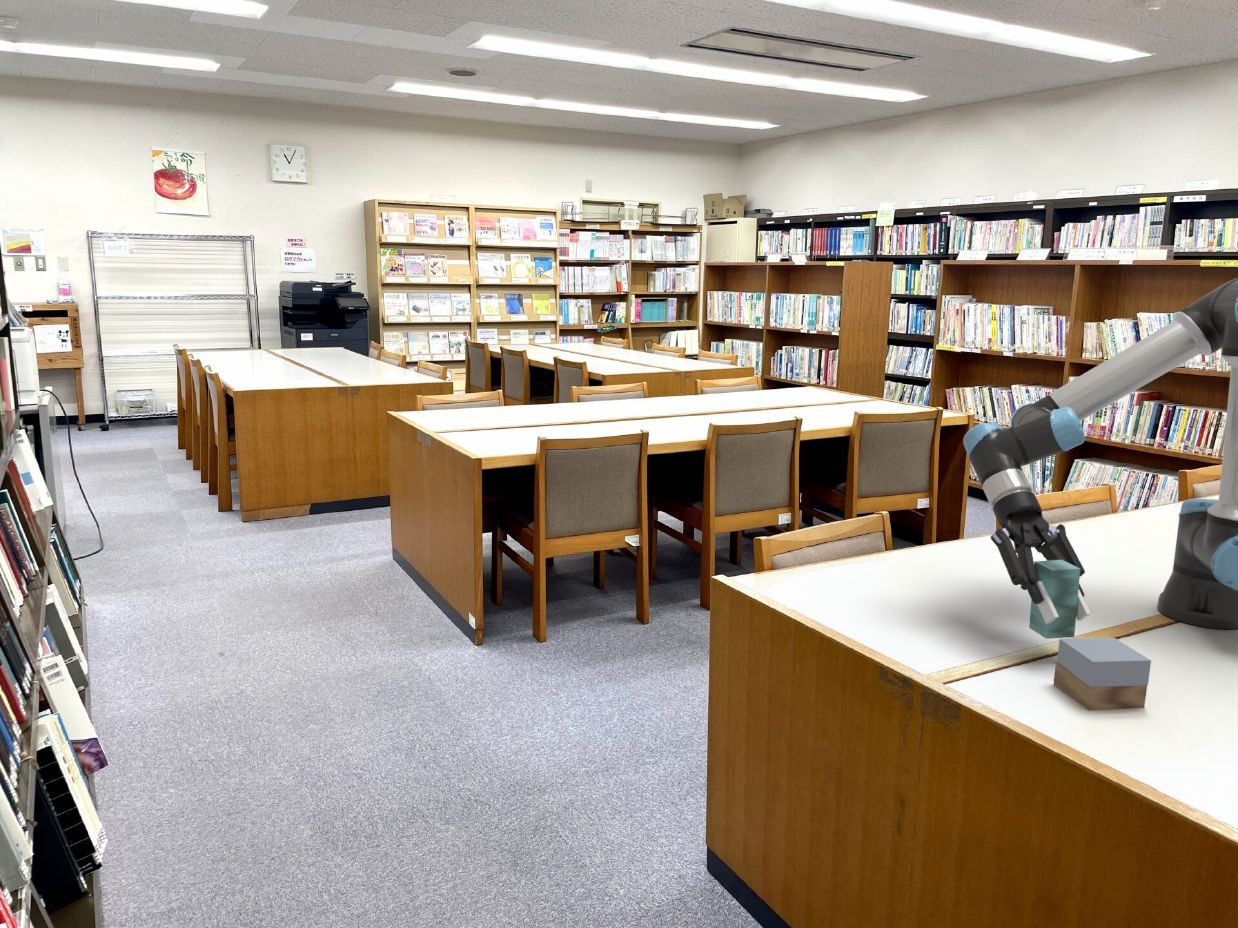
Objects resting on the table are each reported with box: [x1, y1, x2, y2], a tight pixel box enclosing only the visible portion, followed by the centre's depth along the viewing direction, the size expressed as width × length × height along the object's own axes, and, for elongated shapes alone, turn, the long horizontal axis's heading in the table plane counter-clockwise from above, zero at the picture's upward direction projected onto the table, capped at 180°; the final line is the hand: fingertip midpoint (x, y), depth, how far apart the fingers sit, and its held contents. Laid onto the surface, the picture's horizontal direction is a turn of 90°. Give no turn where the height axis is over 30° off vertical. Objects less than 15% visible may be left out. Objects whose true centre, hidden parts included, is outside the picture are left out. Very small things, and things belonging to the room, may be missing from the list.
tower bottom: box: [1053, 661, 1148, 711], centre depth 137 cm, size 9×9×4 cm
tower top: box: [1056, 636, 1152, 687], centre depth 136 cm, size 9×9×4 cm
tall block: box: [1028, 560, 1081, 640], centre depth 150 cm, size 5×5×12 cm
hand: (1068, 618), depth 146 cm, fingers closed on tall block, 5 cm apart
